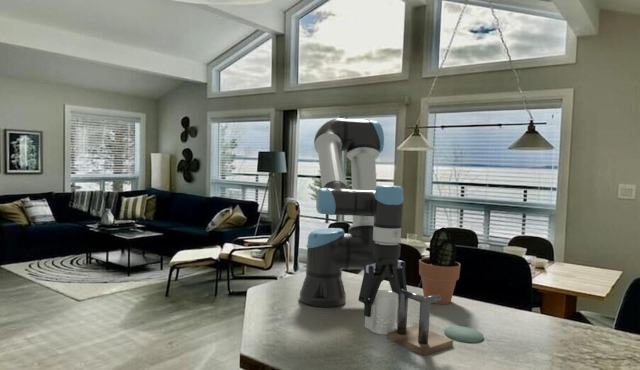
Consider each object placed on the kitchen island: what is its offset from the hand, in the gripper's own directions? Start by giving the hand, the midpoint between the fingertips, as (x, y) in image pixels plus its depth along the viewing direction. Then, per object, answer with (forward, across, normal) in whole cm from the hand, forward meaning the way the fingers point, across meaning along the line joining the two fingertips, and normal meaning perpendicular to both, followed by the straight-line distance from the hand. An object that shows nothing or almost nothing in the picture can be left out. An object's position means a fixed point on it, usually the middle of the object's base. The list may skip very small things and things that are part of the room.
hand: (382, 324), depth 119 cm
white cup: (+2, 0, 0) cm, 2 cm away
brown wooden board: (+1, +2, -11) cm, 11 cm away
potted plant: (+2, +37, +10) cm, 38 cm away
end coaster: (+1, +17, -14) cm, 22 cm away
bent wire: (0, +2, -11) cm, 11 cm away
